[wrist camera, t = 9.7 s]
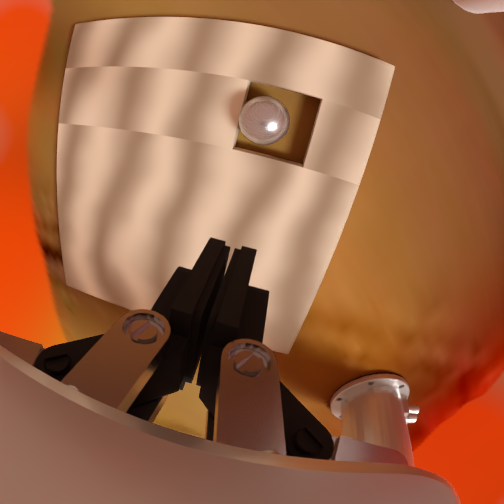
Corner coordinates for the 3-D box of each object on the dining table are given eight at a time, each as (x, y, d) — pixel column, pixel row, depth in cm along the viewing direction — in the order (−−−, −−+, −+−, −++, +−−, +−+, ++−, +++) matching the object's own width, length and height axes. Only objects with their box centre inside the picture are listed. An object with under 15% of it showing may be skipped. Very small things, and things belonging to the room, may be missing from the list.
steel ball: (293, 118, 23) (298, 95, 19) (279, 158, 23) (283, 139, 19) (248, 105, 23) (247, 81, 19) (233, 144, 23) (229, 123, 19)
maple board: (389, 68, 19) (395, 66, 18) (288, 345, 35) (288, 354, 33) (83, 25, 19) (75, 24, 18) (72, 279, 35) (66, 285, 33)
